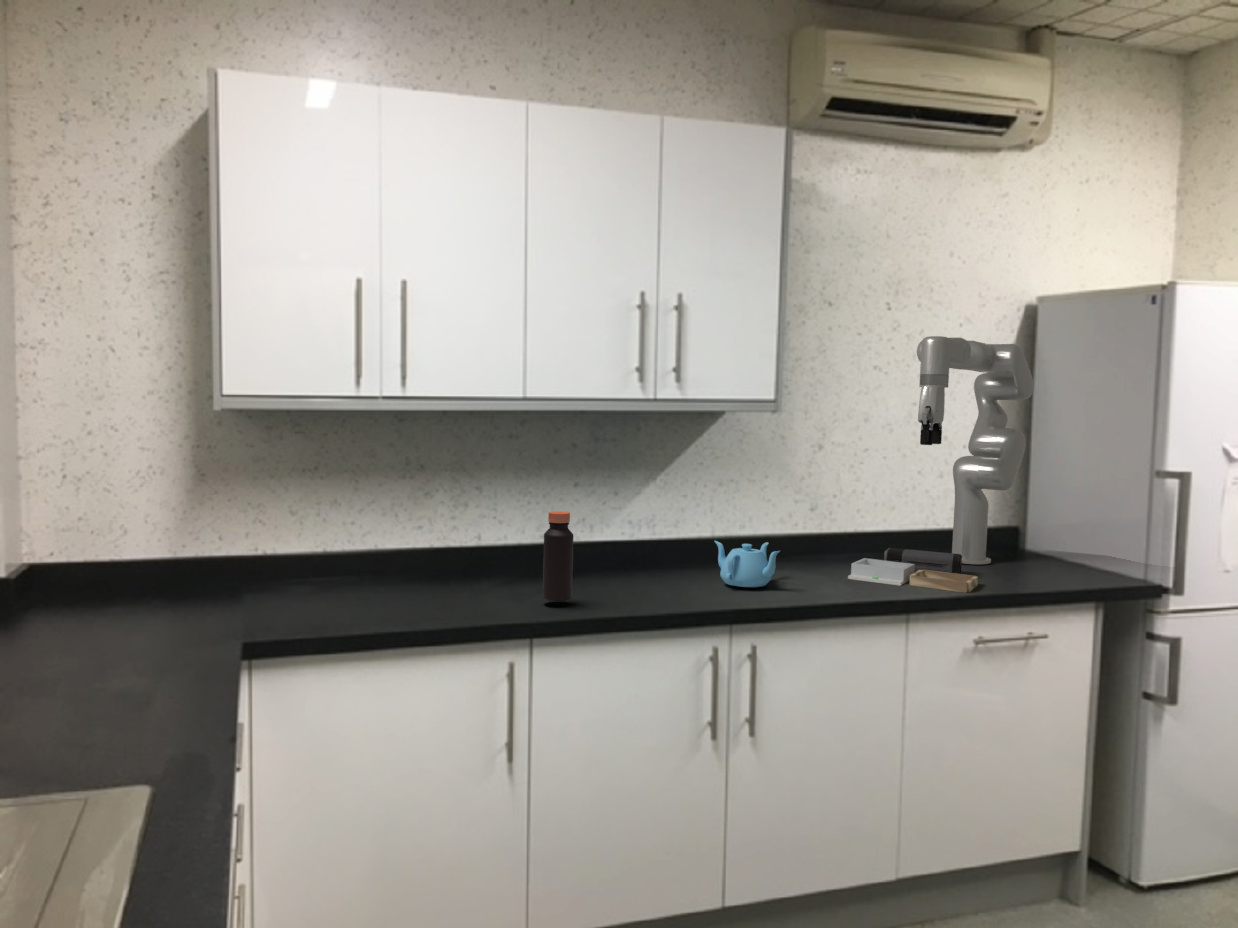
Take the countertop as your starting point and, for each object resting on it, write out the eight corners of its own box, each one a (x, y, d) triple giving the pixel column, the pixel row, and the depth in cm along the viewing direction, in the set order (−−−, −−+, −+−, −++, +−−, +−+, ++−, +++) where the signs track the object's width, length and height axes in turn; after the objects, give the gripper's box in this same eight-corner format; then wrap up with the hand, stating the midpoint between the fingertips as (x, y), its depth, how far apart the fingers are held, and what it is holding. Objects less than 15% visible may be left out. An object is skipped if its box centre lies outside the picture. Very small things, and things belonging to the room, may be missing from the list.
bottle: (536, 597, 214) (538, 511, 213) (561, 593, 219) (563, 510, 217) (553, 602, 209) (555, 515, 208) (577, 599, 213) (579, 513, 212)
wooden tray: (920, 578, 251) (920, 569, 251) (978, 585, 243) (978, 576, 243) (908, 585, 241) (908, 575, 241) (968, 592, 233) (969, 583, 233)
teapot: (721, 589, 230) (722, 548, 229) (711, 576, 245) (713, 538, 244) (779, 590, 231) (781, 549, 230) (766, 578, 246) (768, 539, 245)
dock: (866, 570, 261) (866, 556, 261) (916, 576, 254) (917, 562, 254) (847, 578, 248) (848, 564, 247) (900, 585, 240) (901, 571, 240)
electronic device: (883, 571, 258) (959, 579, 250) (884, 550, 258) (960, 557, 250) (887, 567, 267) (961, 574, 259) (888, 546, 266) (962, 553, 259)
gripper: (927, 382, 262) (924, 442, 263) (911, 380, 247) (908, 444, 249) (955, 383, 258) (952, 444, 259) (940, 381, 244) (937, 446, 245)
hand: (930, 444), depth 254 cm, fingers open, 9 cm apart
